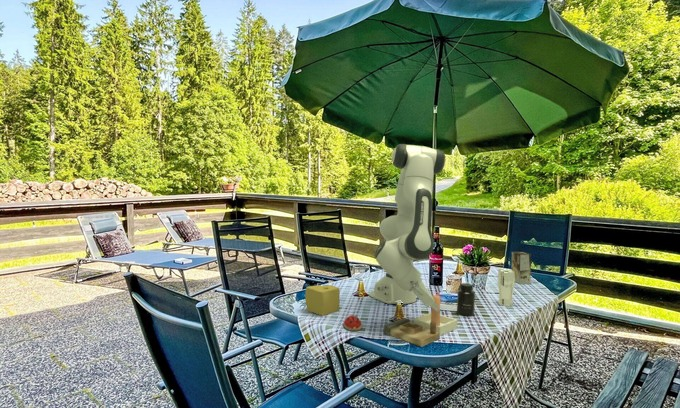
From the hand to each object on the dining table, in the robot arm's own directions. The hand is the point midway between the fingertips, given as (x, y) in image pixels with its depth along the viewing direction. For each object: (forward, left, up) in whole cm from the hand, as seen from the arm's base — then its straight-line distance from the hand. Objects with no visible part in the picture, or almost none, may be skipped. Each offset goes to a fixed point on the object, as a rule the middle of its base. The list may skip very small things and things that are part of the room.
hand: (435, 305), depth 143 cm
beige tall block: (+4, +48, -8) cm, 49 cm away
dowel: (0, 0, -8) cm, 7 cm away
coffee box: (-9, +94, -8) cm, 95 cm away
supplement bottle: (-1, +23, -8) cm, 24 cm away
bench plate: (-1, -13, -8) cm, 15 cm away
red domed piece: (-21, -22, -9) cm, 32 cm away
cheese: (-42, -19, -8) cm, 47 cm away
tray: (0, 0, -8) cm, 8 cm away
